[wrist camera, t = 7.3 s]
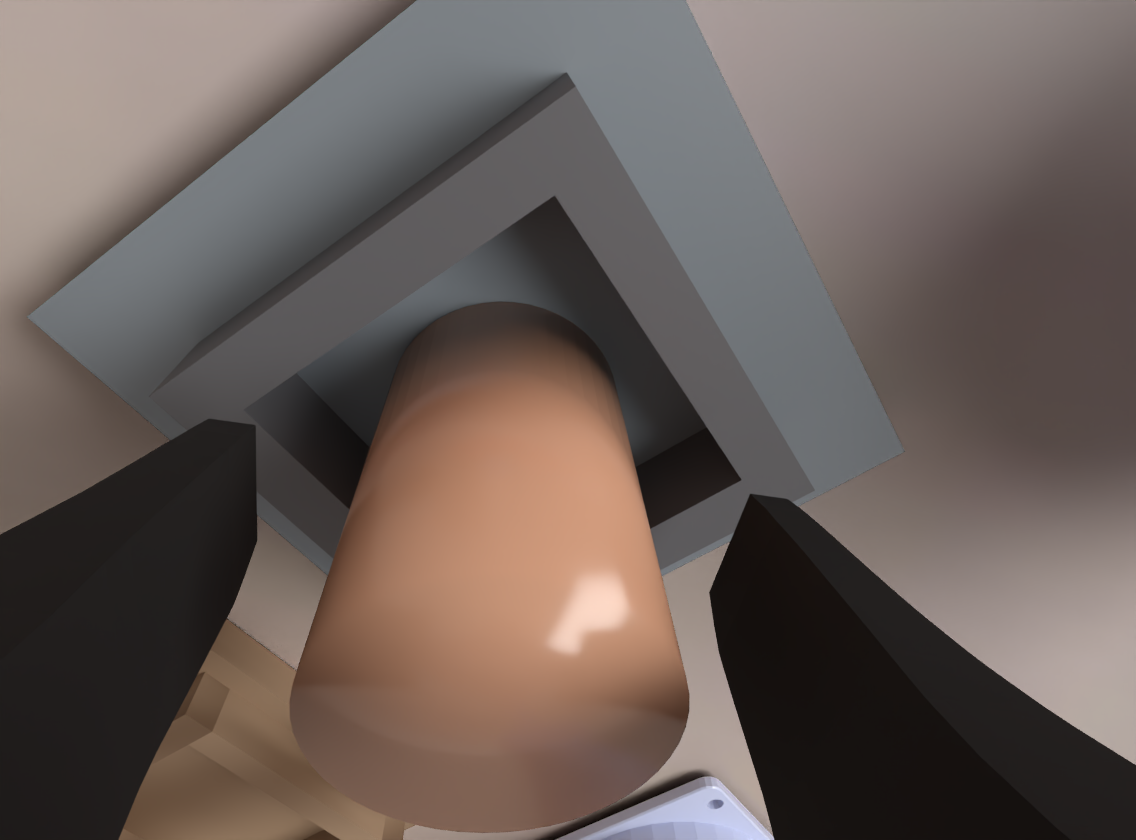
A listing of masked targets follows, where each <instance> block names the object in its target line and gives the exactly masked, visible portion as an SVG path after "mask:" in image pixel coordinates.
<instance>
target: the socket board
mask: <svg viewBox="0 0 1136 840" xmlns="http://www.w3.org/2000/svg"><path fill="white" fill-rule="evenodd" d="M490 302H516V303H522V304H529V305H533V306H536V307H540V308H543V309H546V310H549V311H551V312H553V313H556V314H558V315H560V316H562V317H564V318H565V319H567V320H569V321H571V322H572V323H574V324H575V325H576V326H577V327H579V328H580V329H581V330H583V331H584V332H585V333H586V334H587V335H588V336H589V337H590V338H591V339H592V340H593V341H594V342H595V344H596V345H597V346H598V348H599V349H600V350H601V352H602V353H603V355H604V357H605V358H606V360H607V362H608V364H609V366H610V369H611V372H612V374H613V377H614V381H615V385H616V389H617V393H618V398H619V402H620V406H621V410H622V414H623V418H624V422H625V427H626V431H627V435H628V439H629V443H630V447H631V451H632V456H633V460H634V464H635V468H636V472H637V476H638V480H639V485H640V489H641V493H642V497H643V501H644V505H645V509H646V514H647V518H648V522H649V526H650V530H651V534H652V538H653V543H654V547H655V551H656V555H657V559H658V563H659V567H660V572H661V576H663V575H665V574H667V573H669V572H671V571H673V570H675V569H677V568H679V567H681V566H683V565H685V564H686V563H688V562H690V561H692V560H694V559H696V558H698V557H700V556H702V555H704V554H706V553H708V552H710V551H712V550H714V549H716V548H718V547H720V546H722V545H724V544H725V543H727V542H729V541H731V539H732V536H733V534H734V531H735V529H736V527H737V524H738V522H739V519H740V517H741V514H742V512H743V510H744V507H745V505H746V502H747V500H748V497H749V495H750V494H757V495H764V496H771V497H778V498H785V499H788V500H790V501H791V502H792V503H794V504H795V505H796V506H800V505H802V504H804V503H805V502H807V501H809V500H811V499H813V498H815V497H817V496H819V495H821V494H823V493H825V492H827V491H829V490H831V489H833V488H835V487H837V486H839V485H841V484H843V483H845V482H846V481H848V480H850V479H852V478H854V477H856V476H858V475H860V474H862V473H864V472H866V471H868V470H870V469H872V468H874V467H876V466H878V465H880V464H882V463H884V462H886V461H887V460H889V459H891V458H893V457H895V456H897V455H899V454H901V453H903V452H905V451H904V449H903V446H902V444H901V442H900V440H899V438H898V436H897V434H896V432H895V430H894V428H893V426H892V424H891V422H890V420H889V418H888V416H887V414H886V412H885V409H884V407H883V405H882V403H881V401H880V399H879V397H878V395H877V393H876V391H875V389H874V387H873V385H872V383H871V381H870V379H869V377H868V374H867V372H866V370H865V368H864V366H863V364H862V362H861V360H860V358H859V356H858V354H857V352H856V350H855V348H854V346H853V344H852V342H851V340H850V337H849V335H848V333H847V331H846V329H845V327H844V325H843V323H842V321H841V319H840V317H839V315H838V313H837V311H836V309H835V307H834V305H833V302H832V300H831V298H830V296H829V294H828V292H827V290H826V288H825V286H824V284H823V282H822V280H821V278H820V276H819V274H818V272H817V270H816V268H815V265H814V263H813V261H812V259H811V257H810V255H809V253H808V251H807V249H806V247H805V245H804V243H803V241H802V239H801V237H800V235H799V233H798V231H797V228H796V226H795V224H794V222H793V220H792V218H791V216H790V214H789V212H788V210H787V208H786V206H785V204H784V202H783V200H782V198H781V196H780V193H779V191H778V189H777V187H776V185H775V183H774V181H773V179H772V177H771V175H770V173H769V171H768V169H767V167H766V165H765V163H764V161H763V159H762V156H761V154H760V152H759V150H758V148H757V146H756V144H755V142H754V140H753V138H752V136H751V134H750V132H749V130H748V128H747V126H746V124H745V121H744V119H743V117H742V115H741V113H740V111H739V109H738V107H737V105H736V103H735V101H734V99H733V97H732V95H731V93H730V91H729V89H728V87H727V84H726V82H725V80H724V78H723V76H722V74H721V72H720V70H719V68H718V66H717V64H716V62H715V60H714V58H713V56H712V54H711V52H710V49H709V47H708V45H707V43H706V41H705V39H704V37H703V35H702V33H701V31H700V29H699V27H698V25H697V23H696V21H695V19H694V17H693V15H692V12H691V10H690V8H689V6H688V4H687V2H686V0H417V1H415V2H414V3H413V4H412V5H410V6H409V7H408V8H407V9H405V10H404V11H403V12H402V13H401V14H399V15H398V16H397V17H396V18H394V19H393V20H392V21H391V22H389V23H388V24H387V25H386V26H384V27H383V28H382V29H381V30H380V31H378V32H377V33H376V34H375V35H373V36H372V37H371V38H370V39H368V40H367V41H366V42H365V43H364V44H362V45H361V46H360V47H359V48H357V49H356V50H355V51H354V52H352V53H351V54H350V55H349V56H348V57H346V58H345V59H344V60H343V61H341V62H340V63H339V64H338V65H336V66H335V67H334V68H333V69H332V70H330V71H329V72H328V73H327V74H325V75H324V76H323V77H322V78H320V79H319V80H318V81H317V82H316V83H314V84H313V85H312V86H311V87H309V88H308V89H307V90H306V91H304V92H303V93H302V94H301V95H300V96H298V97H297V98H296V99H295V100H293V101H292V102H291V103H290V104H288V105H287V106H286V107H285V108H283V109H282V110H281V111H280V112H279V113H277V114H276V115H275V116H274V117H272V118H271V119H270V120H269V121H267V122H266V123H265V124H264V125H263V126H261V127H260V128H259V129H258V130H256V131H255V132H254V133H253V134H251V135H250V136H249V137H248V138H247V139H245V140H244V141H243V142H242V143H240V144H239V145H238V146H237V147H235V148H234V149H233V150H232V151H231V152H229V153H228V154H227V155H226V156H224V157H223V158H222V159H221V160H219V161H218V162H217V163H216V164H215V165H213V166H212V167H211V168H210V169H208V170H207V171H206V172H205V173H203V174H202V175H201V176H200V177H199V178H197V179H196V180H195V181H194V182H192V183H191V184H190V185H189V186H187V187H186V188H185V189H184V190H182V191H181V192H180V193H179V194H178V195H176V196H175V197H174V198H173V199H171V200H170V201H169V202H168V203H166V204H165V205H164V206H163V207H162V208H160V209H159V210H158V211H157V212H155V213H154V214H153V215H152V216H150V217H149V218H148V219H147V220H146V221H144V222H143V223H142V224H141V225H139V226H138V227H137V228H136V229H134V230H133V231H132V232H131V233H130V234H128V235H127V236H126V237H125V238H123V239H122V240H121V241H120V242H118V243H117V244H116V245H115V246H114V247H112V248H111V249H110V250H109V251H107V252H106V253H105V254H104V255H102V256H101V257H100V258H99V259H98V260H96V261H95V262H94V263H93V264H91V265H90V266H89V267H88V268H86V269H85V270H84V271H83V272H81V273H80V274H79V275H78V276H77V277H75V278H74V279H73V280H72V281H70V282H69V283H68V284H67V285H65V286H64V287H63V288H62V289H61V290H59V291H58V292H57V293H56V294H54V295H53V296H52V297H51V298H49V299H48V300H47V301H46V302H45V303H43V304H42V305H41V306H40V307H38V308H37V309H36V310H35V311H33V312H32V313H31V314H30V315H29V316H27V318H29V319H30V320H31V321H32V322H33V323H34V324H36V325H37V326H38V327H39V328H40V329H41V330H43V331H44V332H45V333H46V334H47V335H48V336H50V337H51V338H52V339H53V340H54V341H55V342H57V343H58V344H59V345H60V346H61V347H62V348H64V349H65V350H66V351H67V352H68V353H69V354H71V355H72V356H73V357H74V358H75V359H76V360H77V361H79V362H80V363H81V364H82V365H83V366H84V367H86V368H87V369H88V370H89V371H90V372H91V373H93V374H94V375H95V376H96V377H97V378H98V379H100V380H101V381H102V382H103V383H104V384H105V385H107V386H108V387H109V388H110V389H111V390H112V391H114V392H115V393H116V394H117V395H118V396H119V397H121V398H122V399H123V400H124V401H125V402H126V403H128V404H129V405H130V406H131V407H132V408H133V409H135V410H136V411H137V412H138V413H139V414H140V415H142V416H143V417H144V418H145V419H146V420H147V421H149V422H150V423H151V424H152V425H153V426H154V427H155V428H157V429H158V430H159V431H160V432H161V433H162V434H164V435H165V436H166V437H167V438H168V439H169V440H172V439H174V438H175V437H177V436H179V435H180V434H182V433H184V432H186V431H187V430H189V429H191V428H192V427H194V426H196V425H198V424H200V423H201V422H203V421H205V420H207V419H216V420H223V421H231V422H238V423H245V424H252V425H256V484H257V515H258V516H259V517H260V518H261V519H263V520H264V521H265V522H266V523H267V524H268V525H270V526H271V527H272V528H273V529H274V530H275V531H277V532H278V533H279V534H280V535H281V536H282V537H284V538H285V539H286V540H287V541H288V542H289V543H291V544H292V545H293V546H294V547H295V548H296V549H298V550H299V551H300V552H301V553H302V554H303V555H305V556H306V557H307V558H308V559H309V560H310V561H311V562H313V563H314V564H315V565H316V566H317V567H318V568H320V569H321V570H322V571H323V572H324V573H325V574H327V575H328V574H329V571H330V568H331V565H332V562H333V559H334V556H335V553H336V549H337V546H338V543H339V540H340V537H341V534H342V531H343V528H344V525H345V522H346V519H347V516H348V513H349V510H350V507H351V504H352V501H353V498H354V494H355V491H356V488H357V485H358V482H359V479H360V476H361V473H362V470H363V467H364V464H365V461H366V458H367V455H368V452H369V449H370V446H371V442H372V439H373V436H374V433H375V430H376V427H377V424H378V421H379V418H380V415H381V412H382V409H383V406H384V403H385V400H386V397H387V394H388V391H389V387H390V384H391V381H392V378H393V375H394V372H395V370H396V367H397V365H398V362H399V360H400V358H401V357H402V355H403V353H404V351H405V350H406V348H407V347H408V346H409V345H410V343H411V342H412V341H413V340H414V338H415V337H416V336H417V335H418V334H419V333H421V332H422V331H423V330H424V329H425V328H426V327H427V326H429V325H430V324H432V323H433V322H435V321H436V320H437V319H439V318H441V317H443V316H445V315H447V314H449V313H451V312H453V311H456V310H459V309H462V308H464V307H468V306H472V305H476V304H481V303H490Z"/></svg>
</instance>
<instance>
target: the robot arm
mask: <svg viewBox="0 0 1136 840" xmlns="http://www.w3.org/2000/svg"><path fill="white" fill-rule="evenodd" d="M256 542H257V484H256V425H252V424H245V423H238V422H231V421H223V420H216V419H207V420H205V421H203V422H201V423H200V424H198V425H196V426H194V427H192V428H191V429H189V430H187V431H186V432H184V433H182V434H180V435H179V436H177V437H175V438H174V439H172V440H170V441H169V442H167V443H165V444H164V445H162V446H160V447H159V448H157V449H155V450H154V451H152V452H150V453H149V454H147V455H145V456H144V457H142V458H140V459H139V460H137V461H135V462H133V463H132V464H130V465H128V466H126V467H125V468H123V469H121V470H120V471H118V472H116V473H114V474H113V475H111V476H109V477H107V478H106V479H104V480H102V481H100V482H99V483H97V484H95V485H94V486H92V487H90V488H88V489H87V490H85V491H83V492H81V493H79V494H77V495H76V496H74V497H72V498H70V499H68V500H66V501H64V502H62V503H60V504H58V505H56V506H54V507H53V508H51V509H49V510H47V511H45V512H43V513H41V514H39V515H37V516H35V517H33V518H31V519H30V520H28V521H26V522H24V523H22V524H20V525H18V526H16V527H14V528H12V529H10V530H8V531H7V532H5V533H3V534H1V535H0V840H119V837H120V835H121V832H122V830H123V827H124V825H125V823H126V820H127V818H128V815H129V813H130V810H131V808H132V805H133V803H134V800H135V798H136V796H137V793H138V791H139V788H140V786H141V784H142V782H143V780H144V778H145V776H146V774H147V771H148V769H149V767H150V765H151V763H152V761H153V759H154V757H155V755H156V752H157V751H158V749H159V747H160V745H161V743H162V741H163V739H164V737H165V735H166V733H167V732H168V730H169V728H170V726H171V724H172V722H173V720H174V718H175V716H176V714H177V713H178V711H179V709H180V707H181V705H182V703H183V701H184V699H185V697H186V695H187V694H188V692H189V690H190V688H191V686H192V684H193V682H194V680H195V678H196V676H197V675H198V673H199V671H200V669H201V667H202V665H203V663H204V661H205V659H206V657H207V656H208V654H209V652H210V650H211V648H212V646H213V644H214V642H215V640H216V638H217V636H218V634H219V632H220V630H221V628H222V627H223V625H224V623H225V621H226V619H227V617H228V615H229V613H230V611H231V609H232V607H233V605H234V603H235V600H236V597H237V595H238V592H239V590H240V587H241V584H242V582H243V579H244V576H245V574H246V571H247V568H248V565H249V562H250V559H251V557H252V554H253V551H254V548H255V545H256ZM709 593H710V600H711V607H712V613H713V620H714V627H715V632H716V638H717V643H718V649H719V654H720V657H721V661H722V664H723V668H724V671H725V674H726V678H727V681H728V684H729V688H730V691H731V694H732V698H733V701H734V704H735V707H736V711H737V714H738V717H739V720H740V723H741V727H742V730H743V733H744V736H745V739H746V743H747V746H748V749H749V752H750V755H751V759H752V762H753V765H754V768H755V771H756V775H757V778H758V781H759V784H760V787H761V791H762V794H763V797H764V801H765V805H766V808H767V812H768V816H769V820H770V823H771V827H772V832H773V836H774V837H773V836H772V835H771V834H770V833H769V832H768V831H767V830H766V829H765V828H764V827H763V825H762V824H761V823H760V822H759V821H758V820H757V819H756V818H755V817H754V816H753V815H752V814H751V813H750V812H749V811H748V810H747V809H746V808H745V807H744V806H743V805H742V803H741V802H740V801H739V800H738V799H737V798H736V797H735V796H734V795H733V794H732V793H731V792H730V791H729V790H728V789H727V788H726V787H725V786H724V785H723V784H722V783H721V782H720V780H718V779H716V778H715V777H710V776H706V777H701V778H698V779H695V780H693V781H691V782H688V783H686V784H684V785H681V786H679V787H677V788H674V789H672V790H670V791H667V792H665V793H663V794H660V795H658V796H656V797H653V798H651V799H649V800H646V801H644V802H642V803H639V804H637V805H635V806H632V807H630V808H628V809H625V810H623V811H621V812H618V813H616V814H614V815H611V816H609V817H607V818H604V819H602V820H600V821H597V822H595V823H593V824H590V825H588V826H586V827H583V828H581V829H579V830H576V831H574V832H572V833H569V834H567V835H565V836H562V837H560V838H558V839H555V840H1136V765H1135V764H1133V763H1131V762H1130V761H1128V760H1126V759H1125V758H1123V757H1122V756H1120V755H1118V754H1117V753H1115V752H1114V751H1112V750H1110V749H1109V748H1107V747H1106V746H1104V745H1103V744H1101V743H1099V742H1098V741H1096V740H1095V739H1093V738H1091V737H1090V736H1088V735H1087V734H1085V733H1083V732H1082V731H1080V730H1079V729H1077V728H1075V727H1074V726H1072V725H1071V724H1069V723H1068V722H1066V721H1065V720H1063V719H1062V718H1060V717H1059V716H1057V715H1056V714H1054V713H1053V712H1051V711H1050V710H1048V709H1047V708H1045V707H1044V706H1042V705H1041V704H1039V703H1038V702H1036V701H1035V700H1034V699H1032V698H1031V697H1029V696H1028V695H1027V694H1025V693H1024V692H1022V691H1021V690H1020V689H1018V688H1017V687H1015V686H1014V685H1013V684H1011V683H1010V682H1008V681H1007V680H1006V679H1004V678H1003V677H1001V676H1000V675H999V674H997V673H996V672H994V671H993V670H992V669H990V668H989V667H987V666H986V665H985V664H983V663H982V662H981V661H980V660H978V659H977V658H976V657H974V656H973V655H972V654H970V653H969V652H968V651H966V650H965V649H964V648H963V647H961V646H960V645H959V644H958V643H956V642H955V641H954V640H953V639H951V638H950V637H949V636H948V635H946V634H945V633H944V632H943V631H941V630H940V629H939V628H938V627H936V626H935V625H934V624H933V623H932V622H930V621H929V620H928V619H927V618H925V617H924V616H923V615H922V614H921V613H919V612H918V611H917V610H916V609H915V608H913V607H912V606H911V605H910V604H909V603H908V602H906V601H905V600H904V599H903V598H902V597H901V596H899V595H898V594H897V593H896V592H895V591H894V590H892V589H891V588H890V587H889V586H888V585H887V584H886V583H884V582H883V581H882V580H881V579H880V578H879V577H878V576H876V575H875V574H874V573H873V572H872V571H871V570H870V569H869V568H867V567H866V566H865V565H864V564H863V563H862V562H861V561H860V560H859V559H857V558H856V557H855V556H854V555H853V554H852V553H851V552H850V551H849V550H847V549H846V548H845V547H844V546H843V545H842V544H841V543H840V542H838V541H837V540H836V539H835V538H834V537H833V536H832V535H831V534H830V533H828V532H827V531H826V530H825V529H824V528H823V527H822V526H820V525H819V524H818V523H817V522H816V521H815V520H814V519H812V518H811V517H810V516H809V515H808V514H806V513H805V512H804V511H803V510H802V509H800V508H799V507H798V506H796V505H795V504H794V503H792V502H791V501H790V500H788V499H785V498H778V497H771V496H764V495H757V494H750V495H749V497H748V500H747V502H746V505H745V507H744V510H743V512H742V514H741V517H740V519H739V522H738V524H737V527H736V529H735V531H734V534H733V536H732V539H731V541H730V544H729V546H728V548H727V551H726V553H725V556H724V558H723V561H722V563H721V565H720V568H719V570H718V573H717V575H716V578H715V580H714V582H713V585H712V587H711V590H710V592H709Z"/></svg>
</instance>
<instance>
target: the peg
mask: <svg viewBox="0 0 1136 840" xmlns="http://www.w3.org/2000/svg"><path fill="white" fill-rule="evenodd" d="M289 705H290V721H291V725H292V730H293V734H294V737H295V739H296V741H297V743H298V745H299V748H300V750H301V752H302V753H303V754H304V756H305V757H306V759H307V760H308V762H309V763H310V765H311V766H312V767H313V768H314V769H315V770H316V771H317V772H318V773H319V775H320V776H321V777H322V778H323V779H324V780H325V781H327V782H328V783H329V784H330V785H332V786H333V787H334V788H335V789H337V790H338V791H339V792H341V793H342V794H344V795H345V796H347V797H349V798H350V799H352V800H353V801H355V802H357V803H359V804H361V805H363V806H365V807H367V808H369V809H371V810H373V811H375V812H378V813H380V814H383V815H386V816H388V817H391V818H394V819H397V820H400V821H404V822H407V823H411V824H414V825H419V826H424V827H429V828H434V829H440V830H449V831H457V832H476V833H493V832H512V831H521V830H530V829H535V828H541V827H547V826H551V825H555V824H559V823H563V822H567V821H571V820H574V819H577V818H580V817H582V816H585V815H588V814H591V813H593V812H596V811H598V810H600V809H602V808H605V807H607V806H609V805H611V804H613V803H615V802H617V801H618V800H620V799H622V798H624V797H625V796H627V795H629V794H630V793H632V792H633V791H635V790H636V789H637V788H639V787H640V786H642V785H643V784H644V783H645V782H647V781H648V780H649V779H650V778H651V777H652V776H653V775H654V774H656V773H657V772H658V771H659V770H660V768H661V767H662V766H663V765H664V764H665V763H666V761H667V760H668V759H669V758H670V757H671V755H672V753H673V752H674V750H675V749H676V747H677V745H678V744H679V742H680V740H681V737H682V735H683V732H684V730H685V728H686V723H687V719H688V714H689V690H688V685H687V680H686V675H685V671H684V667H683V663H682V659H681V655H680V650H679V646H678V642H677V638H676V634H675V630H674V626H673V621H672V617H671V613H670V609H669V605H668V601H667V596H666V592H665V588H664V584H663V580H662V576H661V572H660V567H659V563H658V559H657V555H656V551H655V547H654V543H653V538H652V534H651V530H650V526H649V522H648V518H647V514H646V509H645V505H644V501H643V497H642V493H641V489H640V485H639V480H638V476H637V472H636V468H635V464H634V460H633V456H632V451H631V447H630V443H629V439H628V435H627V431H626V427H625V422H624V418H623V414H622V410H621V406H620V402H619V398H618V393H617V389H616V385H615V381H614V377H613V374H612V372H611V369H610V366H609V364H608V362H607V360H606V358H605V357H604V355H603V353H602V352H601V350H600V349H599V348H598V346H597V345H596V344H595V342H594V341H593V340H592V339H591V338H590V337H589V336H588V335H587V334H586V333H585V332H584V331H583V330H581V329H580V328H579V327H577V326H576V325H575V324H574V323H572V322H571V321H569V320H567V319H565V318H564V317H562V316H560V315H558V314H556V313H553V312H551V311H549V310H546V309H543V308H540V307H536V306H533V305H529V304H522V303H516V302H490V303H481V304H476V305H472V306H468V307H464V308H462V309H459V310H456V311H453V312H451V313H449V314H447V315H445V316H443V317H441V318H439V319H437V320H436V321H435V322H433V323H432V324H430V325H429V326H427V327H426V328H425V329H424V330H423V331H422V332H421V333H419V334H418V335H417V336H416V337H415V338H414V340H413V341H412V342H411V343H410V345H409V346H408V347H407V348H406V350H405V351H404V353H403V355H402V357H401V358H400V360H399V362H398V365H397V367H396V370H395V372H394V375H393V378H392V381H391V384H390V387H389V391H388V394H387V397H386V400H385V403H384V406H383V409H382V412H381V415H380V418H379V421H378V424H377V427H376V430H375V433H374V436H373V439H372V442H371V446H370V449H369V452H368V455H367V458H366V461H365V464H364V467H363V470H362V473H361V476H360V479H359V482H358V485H357V488H356V491H355V494H354V498H353V501H352V504H351V507H350V510H349V513H348V516H347V519H346V522H345V525H344V528H343V531H342V534H341V537H340V540H339V543H338V546H337V549H336V553H335V556H334V559H333V562H332V565H331V568H330V571H329V574H328V577H327V580H326V583H325V586H324V589H323V592H322V595H321V598H320V601H319V605H318V608H317V611H316V614H315V617H314V620H313V623H312V626H311V629H310V632H309V635H308V638H307V641H306V644H305V647H304V650H303V653H302V656H301V660H300V663H299V666H298V669H297V672H296V675H295V678H294V681H293V685H292V690H291V695H290V700H289Z"/></svg>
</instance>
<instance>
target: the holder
mask: <svg viewBox="0 0 1136 840" xmlns="http://www.w3.org/2000/svg"><path fill="white" fill-rule="evenodd" d="M296 672H297V671H295V670H294V669H293V668H291V667H290V666H289V665H287V664H286V663H285V662H283V661H282V660H281V659H279V658H278V657H277V656H275V655H274V654H273V653H271V652H270V651H269V650H267V649H266V648H265V647H263V646H262V645H261V644H259V643H258V642H257V641H255V640H254V639H253V638H251V637H250V636H249V635H247V634H246V633H245V632H243V631H242V630H241V629H239V628H238V627H237V626H235V625H234V624H233V623H231V622H230V621H229V620H227V619H226V621H225V623H224V625H223V627H222V628H221V630H220V632H219V634H218V636H217V638H216V640H215V642H214V644H213V646H212V648H211V650H210V652H209V654H208V656H207V657H206V659H205V661H204V663H203V665H202V667H201V669H200V671H199V673H198V675H197V676H196V678H195V680H194V682H193V684H192V686H191V688H190V690H189V692H188V694H187V695H186V697H185V699H184V701H183V703H182V705H181V707H180V709H179V711H178V713H177V714H176V716H175V718H174V720H173V722H172V724H171V726H170V728H169V730H168V732H167V733H166V735H165V737H164V739H163V741H162V743H161V745H160V747H159V749H158V751H157V752H156V755H155V757H154V759H153V761H152V763H151V765H150V767H149V769H148V771H147V774H146V776H145V778H144V780H143V782H142V784H141V786H140V788H139V791H138V793H137V796H136V798H135V800H134V803H133V805H132V808H131V810H130V813H129V815H128V818H127V820H126V823H125V825H124V827H123V830H122V832H121V835H120V837H119V840H403V834H404V830H406V829H408V828H410V827H412V826H415V825H414V824H411V823H407V822H404V821H400V820H397V819H394V818H391V817H388V816H386V815H383V814H380V813H378V812H375V811H373V810H371V809H369V808H367V807H365V806H363V805H361V804H359V803H357V802H355V801H353V800H352V799H350V798H349V797H347V796H345V795H344V794H342V793H341V792H339V791H338V790H337V789H335V788H334V787H333V786H332V785H330V784H329V783H328V782H327V781H325V780H324V779H323V778H322V777H321V776H320V775H319V773H318V772H317V771H316V770H315V769H314V768H313V767H312V766H311V765H310V763H309V762H308V760H307V759H306V757H305V756H304V754H303V753H302V752H301V750H300V748H299V745H298V743H297V741H296V739H295V737H294V734H293V730H292V725H291V721H290V705H289V700H290V695H291V690H292V685H293V681H294V678H295V675H296Z"/></svg>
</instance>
